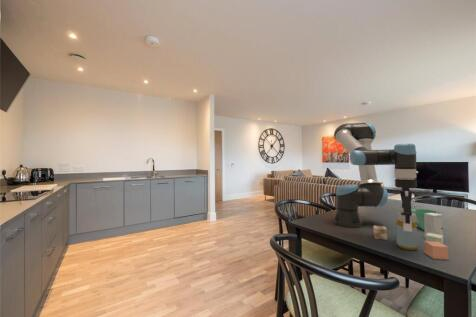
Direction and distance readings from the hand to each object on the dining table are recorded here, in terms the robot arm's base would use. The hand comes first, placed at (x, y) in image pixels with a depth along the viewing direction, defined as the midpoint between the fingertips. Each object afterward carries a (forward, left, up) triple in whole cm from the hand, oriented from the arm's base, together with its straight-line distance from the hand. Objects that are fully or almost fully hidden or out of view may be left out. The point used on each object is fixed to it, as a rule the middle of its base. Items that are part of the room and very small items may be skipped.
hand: (406, 226), depth 92 cm
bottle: (0, 0, -9) cm, 9 cm away
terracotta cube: (+9, -4, -9) cm, 13 cm away
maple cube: (-10, +7, -9) cm, 16 cm away
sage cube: (+10, +8, -9) cm, 16 cm away
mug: (+8, +35, -9) cm, 37 cm away
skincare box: (+11, +19, -9) cm, 24 cm away
